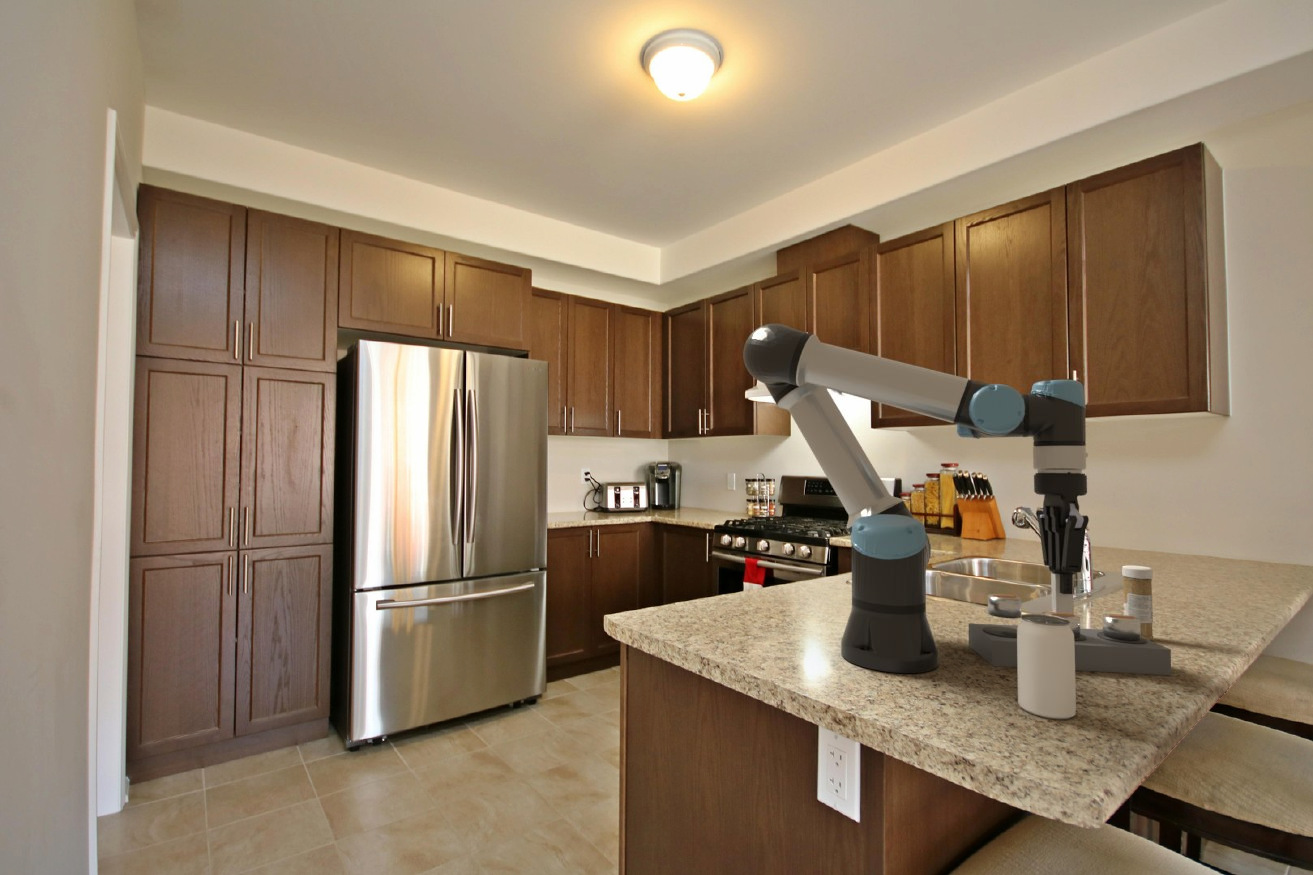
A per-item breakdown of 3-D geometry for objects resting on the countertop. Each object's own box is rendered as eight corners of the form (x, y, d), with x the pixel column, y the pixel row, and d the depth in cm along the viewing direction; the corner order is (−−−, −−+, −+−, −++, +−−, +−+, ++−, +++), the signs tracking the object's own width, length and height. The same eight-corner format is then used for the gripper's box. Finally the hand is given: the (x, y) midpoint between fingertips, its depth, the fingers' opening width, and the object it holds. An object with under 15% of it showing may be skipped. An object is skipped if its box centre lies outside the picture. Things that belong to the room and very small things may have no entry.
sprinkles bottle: (1127, 633, 120) (1125, 563, 121) (1156, 638, 117) (1155, 567, 117) (1120, 637, 117) (1118, 566, 118) (1150, 642, 114) (1148, 569, 114)
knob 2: (1113, 639, 100) (1113, 618, 100) (1096, 630, 105) (1096, 611, 105) (1147, 640, 99) (1147, 620, 100) (1128, 632, 104) (1128, 612, 105)
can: (1077, 724, 77) (1075, 627, 78) (1017, 713, 81) (1015, 620, 81) (1074, 707, 83) (1073, 617, 83) (1018, 697, 86) (1017, 610, 87)
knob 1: (994, 617, 103) (994, 597, 103) (983, 610, 108) (983, 591, 108) (1026, 619, 102) (1026, 598, 102) (1014, 611, 107) (1013, 592, 107)
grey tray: (992, 665, 100) (992, 639, 100) (968, 645, 111) (968, 622, 111) (1171, 675, 96) (1170, 648, 96) (1128, 653, 107) (1128, 629, 107)
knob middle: (1053, 636, 102) (1053, 616, 102) (1039, 628, 107) (1039, 609, 107) (1086, 638, 101) (1086, 617, 101) (1071, 630, 106) (1070, 610, 106)
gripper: (1105, 472, 98) (1109, 623, 97) (1064, 471, 111) (1067, 604, 110) (1054, 471, 99) (1057, 620, 98) (1019, 471, 112) (1021, 602, 111)
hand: (1062, 612), depth 104 cm, fingers closed
